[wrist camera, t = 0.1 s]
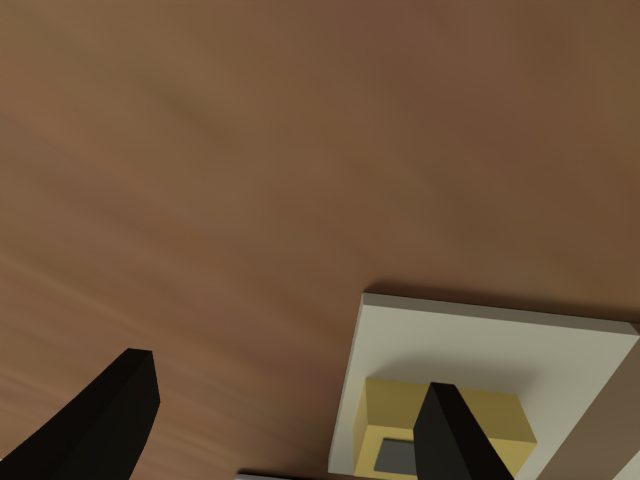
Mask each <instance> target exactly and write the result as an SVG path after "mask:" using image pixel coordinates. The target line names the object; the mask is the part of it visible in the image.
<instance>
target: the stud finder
mask: <svg viewBox="0 0 640 480" xmlns="http://www.w3.org/2000/svg"><path fill="white" fill-rule="evenodd" d="M428 388H429V385H425V384H416V383H407V382H398V381H389V380H380V379H371V378H365V380H364V385H363V389H362V393H361V397H360V401H359V405H358V409H357V413H356V417H355V421H354V425H353V464H354V476H359V477H368V478H378V479H387V480H418V478H417V473H416V463H415V452H414V439H413V428H414V425H415V422H416V420H417V417H418V414H419V412H420V409H421V406H422V404H423V401H424V398H425V396H426V393H427V390H428ZM457 389H458V390H459V392H460V394H461V395H462V397H463V399H464V400H465V402H466V404H467V405H468V407H469V409H470V410H471V412H472V414H473V415H474V417H475V419H476V420H477V422H478V423H479V425H480V427H481V428H482V430H483V432H484V433H485V435H486V436H487V438H488V440H489V441H490V443H491V444H492V446H493V447H494V449H495V450H496V452H497V454H498V455H499V457H500V458H501V460H502V461H503V463H504V464H505V466H506V467H507V469H508V470H509V472H510V473H511V475H512V476H513V478H515V476H516V475H517V473H518V472H519V470H520V469H521V467H522V466H523V465H524V463H525V462H526V460H527V459H528V457H529V456H530V454H531V453H532V451H533V450H534V448H535V447H536V445H537V444H538V443H537V440H536V438H535V436H534V433H533V431H532V429H531V427H530V424H529V422H528V420H527V417H526V415H525V413H524V411H523V408H522V406H521V404H520V401H519V399H518V397H517V395H516V394H507V393H498V392H488V391H479V390H470V389H461V388H457Z"/></svg>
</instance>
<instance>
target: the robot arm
mask: <svg viewBox="0 0 640 480" xmlns="http://www.w3.org/2000/svg"><path fill="white" fill-rule="evenodd" d="M159 405H160V396H159V390H158V384H157V378H156V372H155V366H154V360H153V354H152V351H149V350H140V349H131V348H128V349H127V350H125V351H124V352H123V353H122V354H121V355H120V356H119V357H118V358H116V359H115V360H114V361H113V362H112V363H111V364H110V365H109V366H108V367H107V368H106V369H105V370H104V371H103V372H102V373H101V374H100V375H99V376H97V377H96V378H95V379H94V380H93V381H92V382H91V383H90V384H89V385H88V386H87V387H86V388H85V389H83V390H82V391H81V392H80V393H79V394H78V395H77V396H76V397H75V398H74V399H72V400H71V401H70V402H69V403H68V404H67V405H66V406H65V407H64V408H62V409H61V410H60V411H59V412H58V413H57V414H56V415H55V416H53V417H52V418H51V419H50V420H49V421H48V422H47V423H45V424H44V425H43V426H42V427H41V428H40V429H38V430H37V431H36V432H35V433H34V434H32V435H31V436H30V437H29V438H28V439H26V440H25V441H24V442H23V443H22V444H20V445H19V446H18V447H17V448H16V449H14V450H13V451H12V452H11V453H10V454H8V455H7V456H6V457H5V458H3V459H2V460H1V461H0V480H129V478H130V476H131V474H132V472H133V470H134V468H135V466H136V463H137V461H138V459H139V457H140V455H141V453H142V451H143V449H144V446H145V444H146V442H147V439H148V436H149V434H150V431H151V428H152V425H153V423H154V420H155V417H156V414H157V411H158V408H159ZM413 439H414V452H415V463H416V473H417V478H418V480H515V479H514V478H513V476H512V475H511V473H510V472H509V470H508V469H507V467H506V466H505V464H504V463H503V461H502V460H501V458H500V457H499V455H498V454H497V452H496V450H495V449H494V447H493V446H492V444H491V443H490V441H489V440H488V438H487V436H486V435H485V433H484V432H483V430H482V428H481V427H480V425H479V423H478V422H477V420H476V419H475V417H474V415H473V414H472V412H471V410H470V409H469V407H468V405H467V404H466V402H465V400H464V399H463V397H462V395H461V394H460V392H459V390H458V389H457V387H456V386H455V385H454V384H447V383H438V382H430V385H429V388H428V390H427V393H426V396H425V398H424V401H423V404H422V406H421V409H420V412H419V414H418V417H417V420H416V422H415V425H414V428H413ZM234 480H291V479H281V478H272V477H263V476H253V475H244V474H238V475H236V476H235V478H234Z"/></svg>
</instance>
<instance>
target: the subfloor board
mask: <svg viewBox="0 0 640 480" xmlns="http://www.w3.org/2000/svg"><path fill="white" fill-rule="evenodd" d="M365 378H371V379H380V380H389V381H398V382H407V383H416V384H425V385H430V382H438V383H447V384H454V385H455V386H456V387H457V388H461V389H470V390H479V391H488V392H498V393H507V394H516V395H517V397H518V399H519V401H520V404H521V406H522V408H523V411H524V413H525V415H526V417H527V420H528V422H529V424H530V427H531V429H532V431H533V433H534V436H535V438H536V440H537V443H538V444H537V445H536V447H535V448H534V450H533V451H532V453H531V454H530V456H529V457H528V459H527V460H526V462H525V463H524V465H523V466H522V467H521V469H520V470H519V472H518V473H517V475H516V476H515V478H514V479H515V480H640V324H638V323H629V322H620V321H611V320H602V319H593V318H585V317H576V316H567V315H558V314H549V313H540V312H531V311H523V310H514V309H505V308H496V307H487V306H478V305H469V304H461V303H452V302H443V301H434V300H425V299H416V298H407V297H399V296H390V295H381V294H372V293H363V292H362V297H361V302H360V307H359V312H358V316H357V321H356V326H355V331H354V336H353V341H352V346H351V351H350V356H349V360H348V365H347V370H346V375H345V380H344V385H343V390H342V395H341V400H340V405H339V409H338V414H337V419H336V424H335V429H334V434H333V439H332V444H331V449H330V453H329V458H328V473H337V474H347V475H354V464H353V425H354V421H355V417H356V413H357V409H358V405H359V401H360V397H361V393H362V389H363V385H364V380H365Z"/></svg>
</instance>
